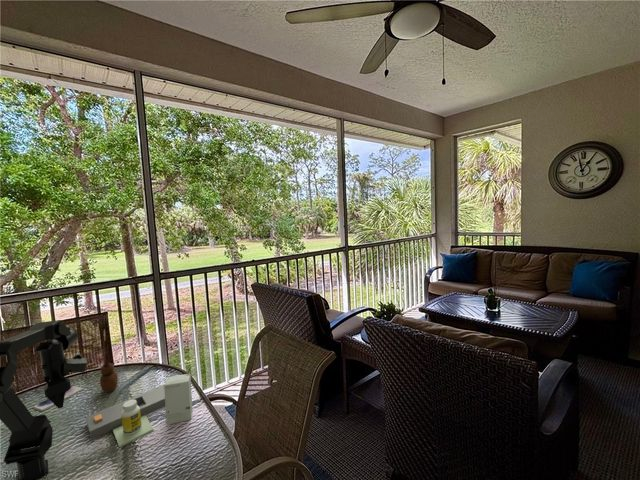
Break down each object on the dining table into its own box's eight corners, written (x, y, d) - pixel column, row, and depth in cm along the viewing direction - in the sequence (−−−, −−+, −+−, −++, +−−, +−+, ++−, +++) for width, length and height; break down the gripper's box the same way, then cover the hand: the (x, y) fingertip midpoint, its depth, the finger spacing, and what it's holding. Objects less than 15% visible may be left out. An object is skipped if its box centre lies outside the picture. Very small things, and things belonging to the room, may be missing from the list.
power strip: (170, 389, 127) (169, 380, 126) (178, 399, 120) (177, 390, 119) (86, 424, 108) (85, 414, 107) (91, 439, 101) (89, 429, 100)
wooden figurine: (103, 387, 130) (99, 354, 128) (119, 383, 133) (115, 351, 131) (100, 396, 124) (95, 361, 122) (116, 392, 126) (112, 358, 125)
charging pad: (153, 430, 104) (153, 429, 103) (119, 447, 97) (118, 445, 97) (145, 416, 111) (145, 414, 111) (113, 431, 104) (112, 429, 104)
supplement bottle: (133, 436, 100) (129, 409, 99) (119, 434, 102) (115, 407, 100) (145, 424, 106) (142, 398, 104) (132, 423, 107) (129, 397, 106)
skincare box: (166, 425, 106) (162, 386, 104) (169, 414, 111) (165, 376, 110) (192, 419, 108) (188, 381, 106) (194, 409, 114) (190, 372, 112)
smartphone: (31, 407, 118) (74, 385, 132) (31, 409, 118) (74, 387, 132) (41, 410, 116) (84, 388, 129) (42, 412, 116) (84, 389, 129)
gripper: (87, 358, 99) (93, 402, 101) (80, 341, 112) (86, 380, 114) (41, 372, 91) (48, 419, 93) (39, 352, 105) (46, 394, 107)
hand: (59, 401), depth 102 cm, fingers open, 9 cm apart
